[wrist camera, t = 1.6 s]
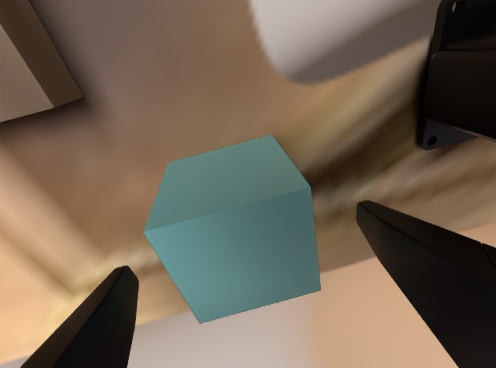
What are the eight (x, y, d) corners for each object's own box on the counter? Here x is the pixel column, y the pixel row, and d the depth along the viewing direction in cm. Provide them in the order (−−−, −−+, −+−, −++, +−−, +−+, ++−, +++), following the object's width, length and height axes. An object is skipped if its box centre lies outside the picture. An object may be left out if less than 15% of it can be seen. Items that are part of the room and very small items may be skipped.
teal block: (271, 133, 11) (310, 186, 7) (285, 214, 14) (321, 290, 9) (169, 161, 11) (142, 232, 7) (202, 237, 14) (199, 323, 9)
